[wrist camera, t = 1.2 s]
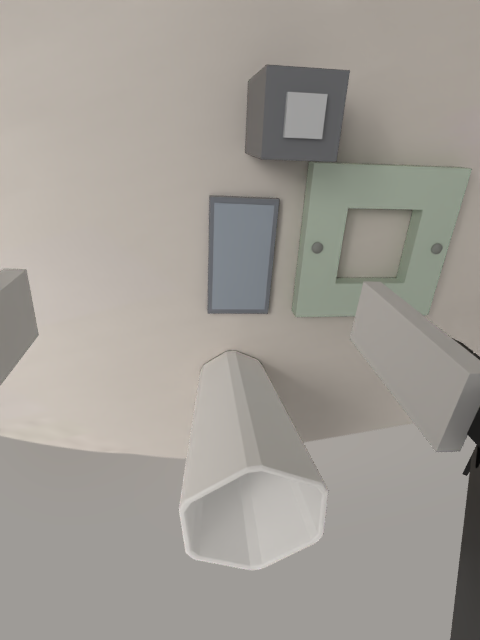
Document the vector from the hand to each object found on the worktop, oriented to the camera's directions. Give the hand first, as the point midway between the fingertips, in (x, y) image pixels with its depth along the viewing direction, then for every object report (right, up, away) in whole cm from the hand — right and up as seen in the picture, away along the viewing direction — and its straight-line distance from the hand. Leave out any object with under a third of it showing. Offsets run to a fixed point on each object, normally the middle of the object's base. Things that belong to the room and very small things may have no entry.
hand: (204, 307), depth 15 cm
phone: (+1, +6, +20) cm, 21 cm away
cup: (0, -7, +26) cm, 27 cm away
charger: (+4, +16, +15) cm, 22 cm away
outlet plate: (+14, +7, +21) cm, 26 cm away
